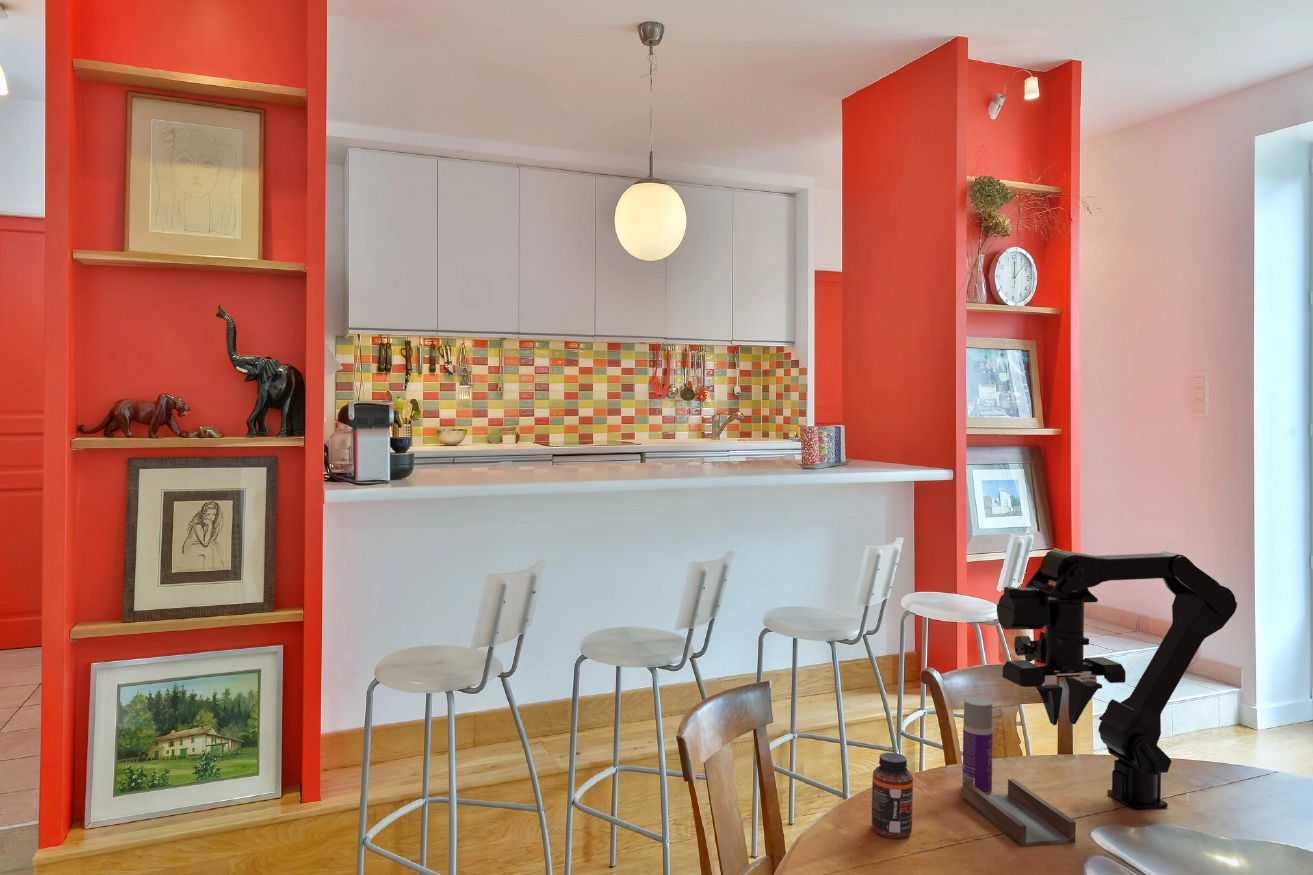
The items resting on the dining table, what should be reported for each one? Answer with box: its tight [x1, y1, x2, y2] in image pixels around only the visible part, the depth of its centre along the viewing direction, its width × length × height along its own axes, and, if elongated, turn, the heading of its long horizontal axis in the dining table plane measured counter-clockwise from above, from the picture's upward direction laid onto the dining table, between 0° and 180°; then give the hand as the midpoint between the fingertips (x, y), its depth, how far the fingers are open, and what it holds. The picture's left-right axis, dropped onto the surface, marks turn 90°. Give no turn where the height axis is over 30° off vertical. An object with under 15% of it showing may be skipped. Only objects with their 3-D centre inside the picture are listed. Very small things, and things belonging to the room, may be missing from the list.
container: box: [962, 697, 994, 795], centre depth 147 cm, size 5×5×15 cm
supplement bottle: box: [871, 752, 914, 839], centre depth 131 cm, size 6×6×11 cm
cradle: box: [962, 778, 1077, 847], centre depth 136 cm, size 9×16×3 cm, turn 10°
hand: (1062, 723), depth 142 cm, fingers open, 3 cm apart
